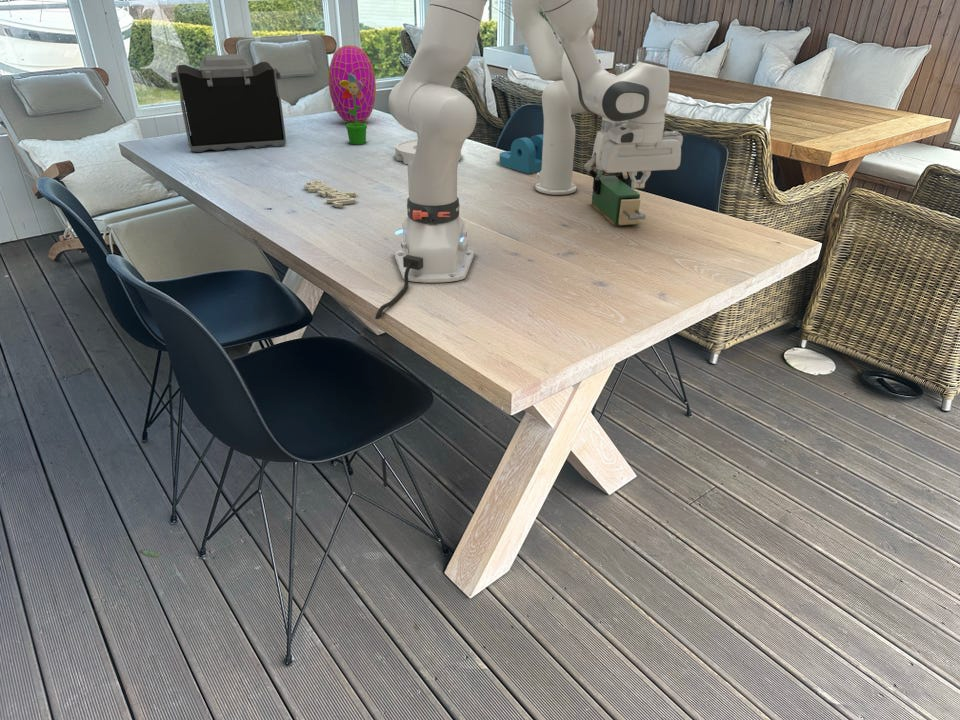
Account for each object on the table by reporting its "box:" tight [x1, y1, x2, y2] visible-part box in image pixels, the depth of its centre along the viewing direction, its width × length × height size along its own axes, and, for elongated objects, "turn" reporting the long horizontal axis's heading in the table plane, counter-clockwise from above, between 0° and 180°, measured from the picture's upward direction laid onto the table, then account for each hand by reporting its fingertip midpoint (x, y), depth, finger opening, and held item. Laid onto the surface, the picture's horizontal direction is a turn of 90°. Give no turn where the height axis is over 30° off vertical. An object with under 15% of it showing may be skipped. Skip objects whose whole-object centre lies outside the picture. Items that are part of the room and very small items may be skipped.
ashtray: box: [394, 138, 462, 165], centre depth 243 cm, size 23×23×4 cm
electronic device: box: [170, 53, 287, 153], centre depth 252 cm, size 37×22×30 cm, turn 111°
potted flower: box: [339, 73, 368, 145], centre depth 255 cm, size 9×8×25 cm
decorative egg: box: [328, 44, 377, 124], centre depth 286 cm, size 19×19×30 cm
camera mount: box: [498, 133, 543, 175], centre depth 233 cm, size 18×10×10 cm, turn 39°
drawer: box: [618, 198, 647, 226], centre depth 186 cm, size 22×5×6 cm, turn 12°
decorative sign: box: [303, 179, 356, 208], centre depth 205 cm, size 26×1×10 cm
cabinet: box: [590, 175, 641, 227], centre depth 191 cm, size 18×6×8 cm, turn 12°
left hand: (637, 187), depth 175 cm, fingers closed
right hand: (608, 191), depth 194 cm, fingers closed on cabinet, 6 cm apart
